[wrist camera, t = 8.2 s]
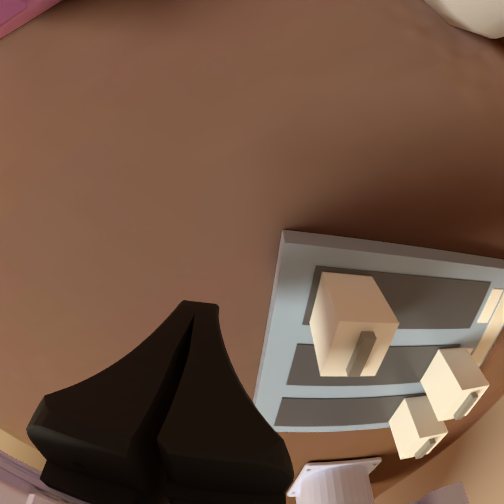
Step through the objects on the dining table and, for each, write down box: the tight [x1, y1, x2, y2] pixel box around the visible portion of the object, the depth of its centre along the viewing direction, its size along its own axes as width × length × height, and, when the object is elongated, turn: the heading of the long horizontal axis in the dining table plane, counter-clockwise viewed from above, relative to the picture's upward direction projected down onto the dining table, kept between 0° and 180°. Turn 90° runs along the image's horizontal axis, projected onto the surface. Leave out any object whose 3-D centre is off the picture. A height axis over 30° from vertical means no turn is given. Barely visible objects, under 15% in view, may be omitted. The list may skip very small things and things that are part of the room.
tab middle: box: [420, 347, 489, 421], centre depth 14 cm, size 3×2×4 cm
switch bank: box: [253, 230, 504, 432], centre depth 17 cm, size 14×16×2 cm
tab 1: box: [309, 272, 399, 377], centre depth 12 cm, size 3×2×4 cm
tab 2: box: [389, 396, 448, 459], centre depth 16 cm, size 3×2×4 cm
